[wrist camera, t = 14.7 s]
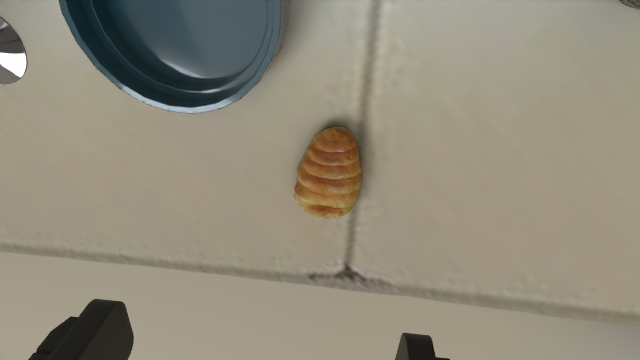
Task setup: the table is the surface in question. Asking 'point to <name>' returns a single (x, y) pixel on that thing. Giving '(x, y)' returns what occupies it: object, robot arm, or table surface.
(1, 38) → the wine glass
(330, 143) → the pastry
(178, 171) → the table surface
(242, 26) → the bowl
